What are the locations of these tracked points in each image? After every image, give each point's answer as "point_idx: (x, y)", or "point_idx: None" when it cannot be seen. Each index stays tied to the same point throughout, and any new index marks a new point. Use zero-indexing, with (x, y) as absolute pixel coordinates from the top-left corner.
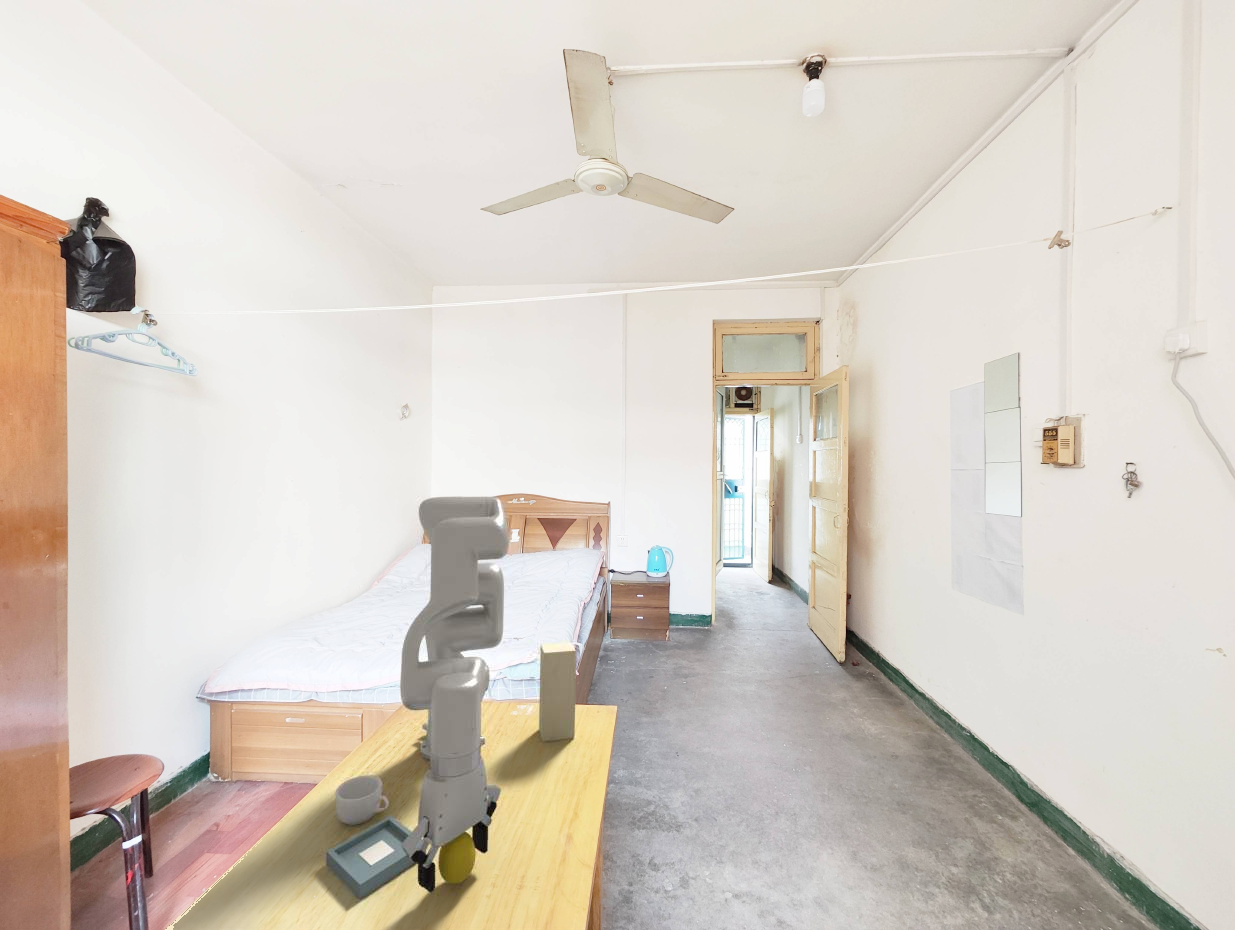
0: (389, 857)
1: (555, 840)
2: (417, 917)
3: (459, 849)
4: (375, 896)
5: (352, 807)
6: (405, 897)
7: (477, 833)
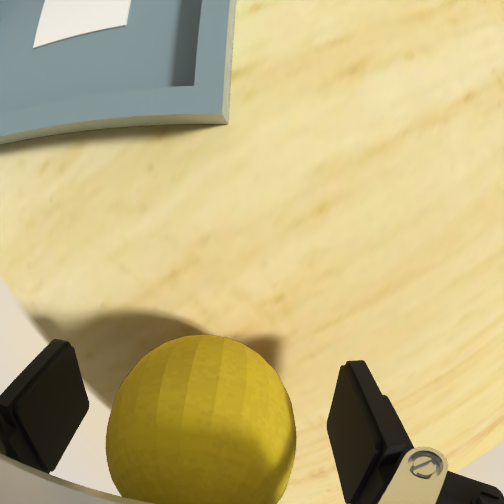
0: (91, 46)
1: (480, 419)
2: None
3: None
4: (11, 170)
5: None
6: (62, 259)
7: (351, 450)
